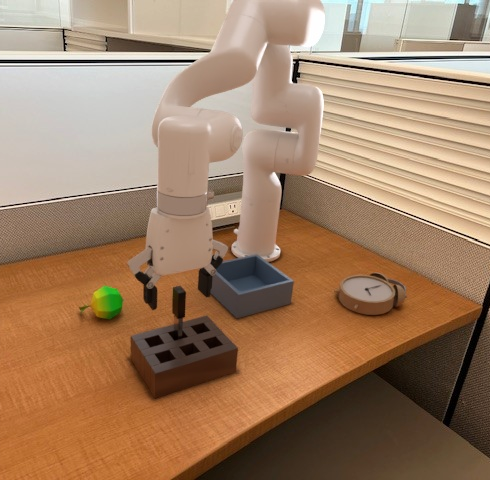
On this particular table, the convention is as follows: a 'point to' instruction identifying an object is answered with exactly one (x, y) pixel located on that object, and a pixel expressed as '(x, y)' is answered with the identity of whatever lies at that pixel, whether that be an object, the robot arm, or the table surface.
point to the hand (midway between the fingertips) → (178, 299)
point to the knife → (178, 310)
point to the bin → (250, 286)
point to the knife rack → (183, 356)
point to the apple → (105, 302)
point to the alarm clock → (371, 293)
